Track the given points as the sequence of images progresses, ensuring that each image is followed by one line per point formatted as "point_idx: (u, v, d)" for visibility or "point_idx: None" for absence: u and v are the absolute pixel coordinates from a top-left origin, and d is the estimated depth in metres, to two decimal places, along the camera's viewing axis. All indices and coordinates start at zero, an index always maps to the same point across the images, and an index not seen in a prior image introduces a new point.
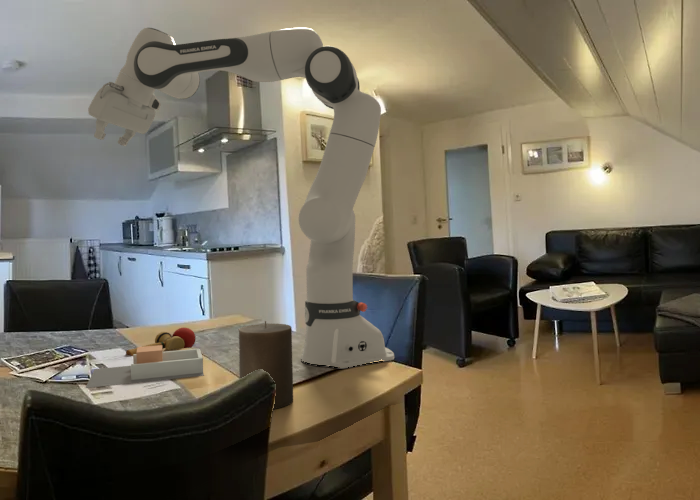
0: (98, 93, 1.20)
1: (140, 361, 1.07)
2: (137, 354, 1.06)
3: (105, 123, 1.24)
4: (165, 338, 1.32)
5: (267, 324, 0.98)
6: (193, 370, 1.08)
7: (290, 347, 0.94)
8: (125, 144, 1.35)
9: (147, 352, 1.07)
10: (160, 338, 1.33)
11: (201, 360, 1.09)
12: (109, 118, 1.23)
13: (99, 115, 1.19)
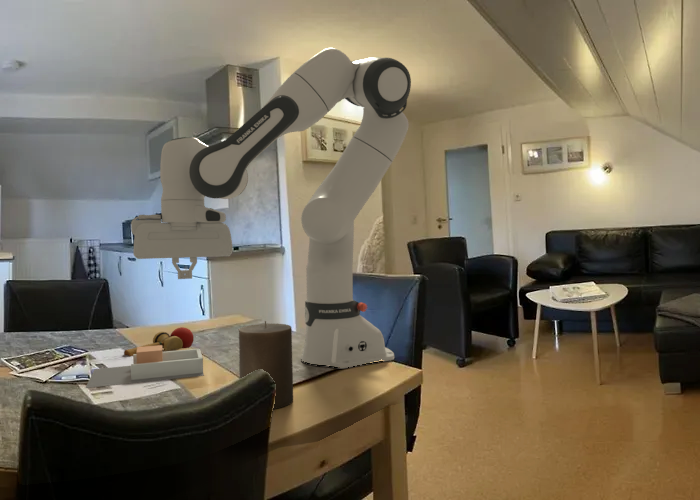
0: None
1: (140, 361, 1.07)
2: (137, 354, 1.06)
3: (174, 259, 1.10)
4: (163, 338, 1.32)
5: (267, 324, 0.98)
6: (193, 370, 1.08)
7: (290, 347, 0.94)
8: (189, 276, 1.11)
9: (147, 352, 1.07)
10: (158, 338, 1.32)
11: (201, 360, 1.09)
12: (151, 252, 1.07)
13: None
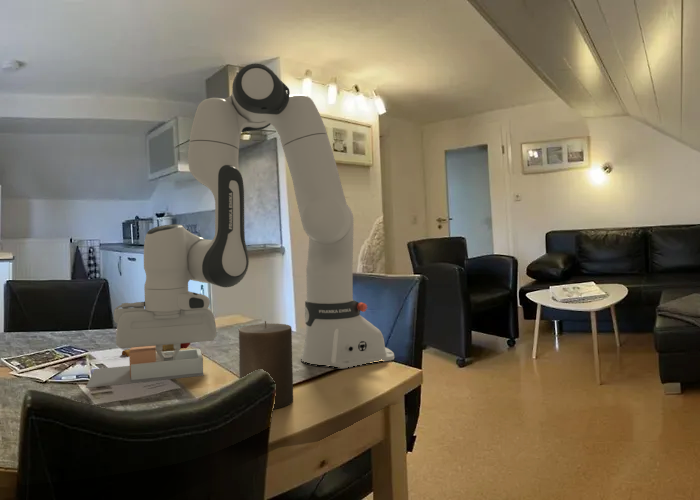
0: None
1: (133, 362, 1.06)
2: (130, 355, 1.06)
3: (158, 346, 1.09)
4: None
5: (267, 324, 0.98)
6: (193, 370, 1.08)
7: (290, 347, 0.94)
8: None
9: (140, 353, 1.07)
10: None
11: (201, 360, 1.09)
12: (134, 341, 1.07)
13: (116, 343, 1.06)
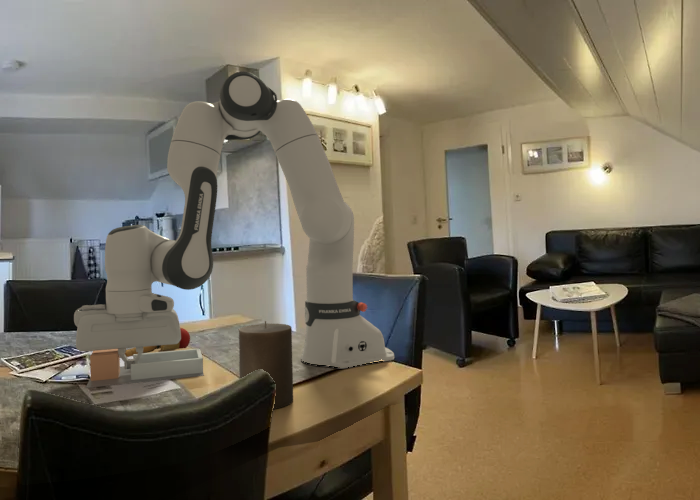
0: None
1: (94, 365, 1.04)
2: (91, 358, 1.04)
3: (120, 350, 1.07)
4: None
5: (267, 324, 0.98)
6: (193, 370, 1.08)
7: (290, 347, 0.94)
8: None
9: (101, 356, 1.04)
10: None
11: (201, 360, 1.09)
12: (95, 344, 1.04)
13: (76, 347, 1.03)
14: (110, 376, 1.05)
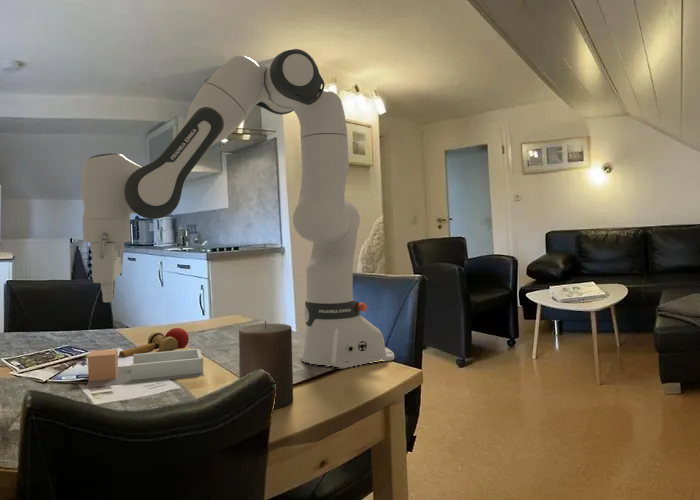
0: (95, 254, 0.97)
1: (92, 365, 1.04)
2: (88, 358, 1.03)
3: None
4: (158, 339, 1.32)
5: (267, 324, 0.98)
6: (193, 370, 1.08)
7: (290, 347, 0.94)
8: (114, 296, 1.09)
9: (99, 356, 1.04)
10: (153, 339, 1.32)
11: (201, 360, 1.09)
12: (114, 274, 1.01)
13: (111, 276, 0.97)
14: (108, 376, 1.05)
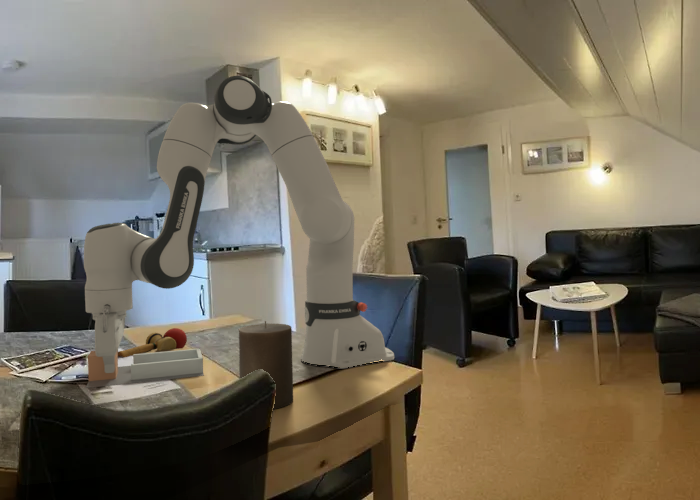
0: (97, 328, 0.97)
1: (92, 365, 1.04)
2: (88, 358, 1.03)
3: None
4: (156, 339, 1.31)
5: (267, 324, 0.98)
6: (193, 370, 1.08)
7: (290, 347, 0.94)
8: None
9: None
10: (151, 339, 1.31)
11: (201, 360, 1.09)
12: (117, 345, 1.01)
13: (114, 350, 0.98)
14: (108, 376, 1.05)
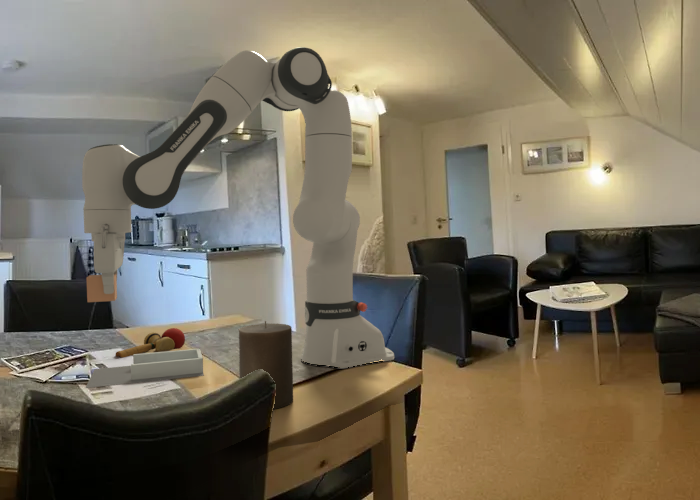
0: (96, 244, 0.97)
1: (90, 286, 1.03)
2: (87, 279, 1.03)
3: (113, 272, 1.02)
4: (154, 339, 1.31)
5: (267, 324, 0.98)
6: (193, 370, 1.08)
7: (290, 347, 0.94)
8: None
9: (98, 277, 1.03)
10: (149, 339, 1.31)
11: (201, 360, 1.09)
12: (116, 264, 1.01)
13: (113, 266, 0.97)
14: (107, 298, 1.04)
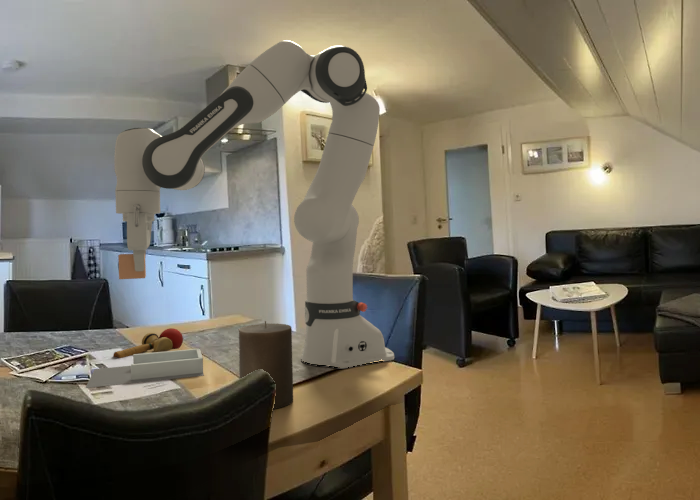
0: (130, 222, 1.01)
1: (122, 264, 1.08)
2: (119, 257, 1.07)
3: (144, 251, 1.07)
4: (152, 339, 1.31)
5: (267, 324, 0.98)
6: (193, 370, 1.08)
7: (290, 347, 0.94)
8: None
9: (129, 256, 1.08)
10: (147, 339, 1.31)
11: (201, 360, 1.09)
12: None
13: (145, 244, 1.02)
14: (137, 276, 1.09)
